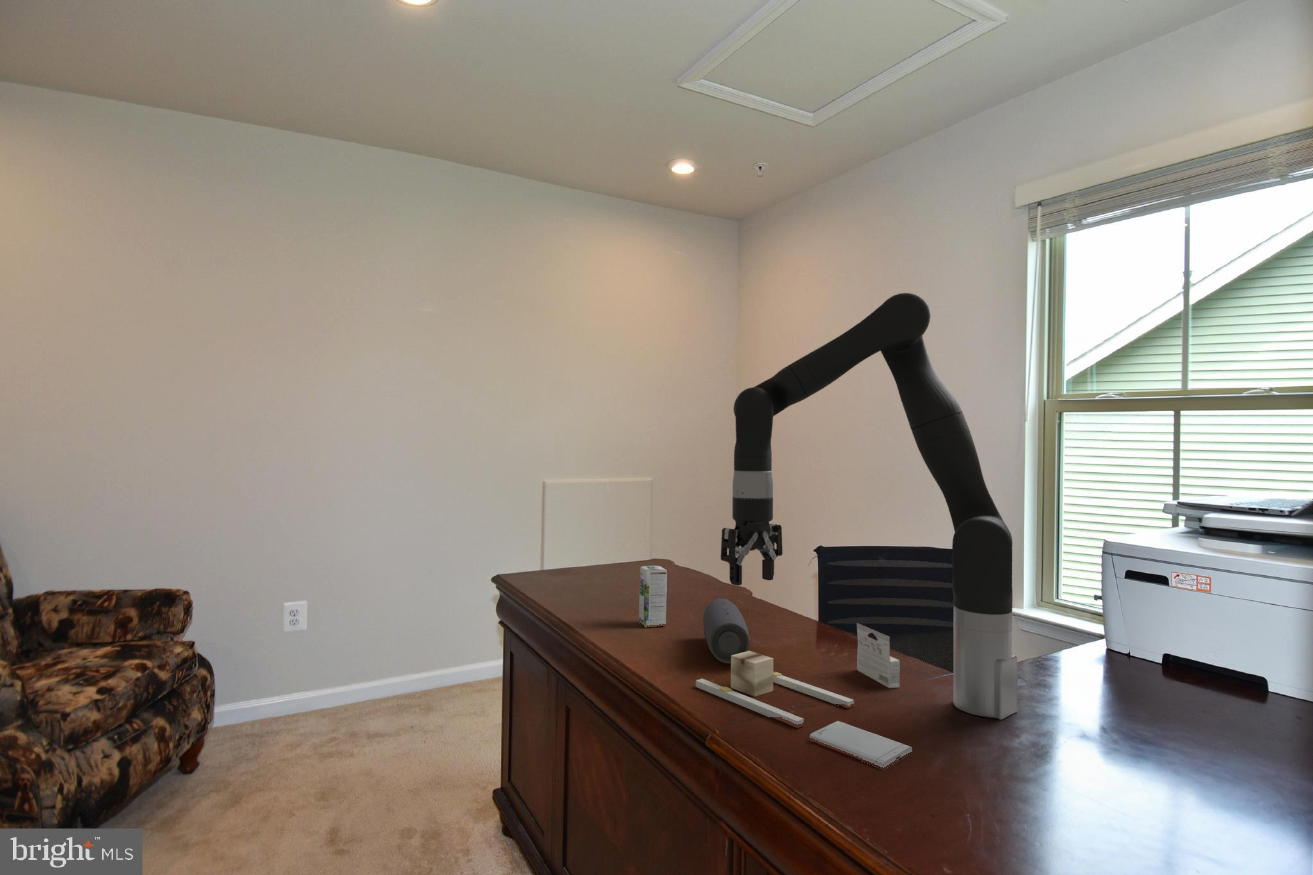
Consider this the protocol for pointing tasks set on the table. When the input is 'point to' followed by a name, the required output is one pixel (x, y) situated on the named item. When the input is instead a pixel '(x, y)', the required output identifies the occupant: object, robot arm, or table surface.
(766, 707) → the slot rails
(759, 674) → the block
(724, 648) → the bluetooth speaker
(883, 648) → the ink cartridge box
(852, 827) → the table surface
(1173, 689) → the table surface
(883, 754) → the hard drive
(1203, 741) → the table surface
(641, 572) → the syrup box
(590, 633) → the table surface
